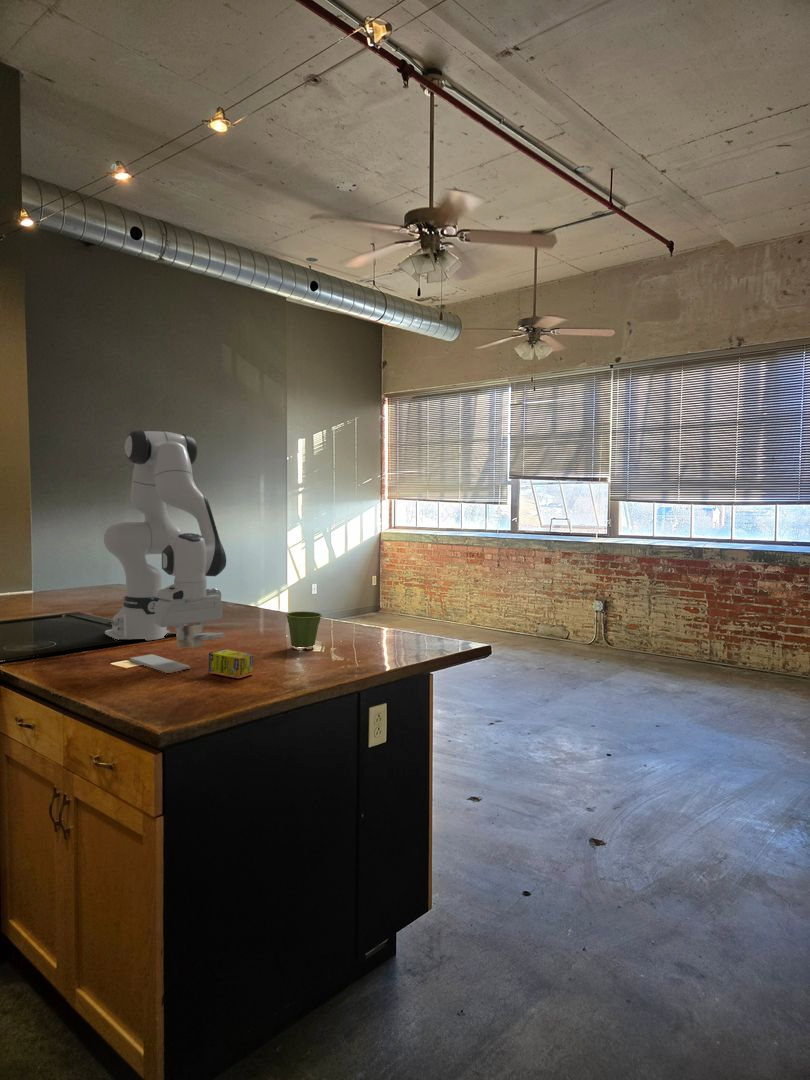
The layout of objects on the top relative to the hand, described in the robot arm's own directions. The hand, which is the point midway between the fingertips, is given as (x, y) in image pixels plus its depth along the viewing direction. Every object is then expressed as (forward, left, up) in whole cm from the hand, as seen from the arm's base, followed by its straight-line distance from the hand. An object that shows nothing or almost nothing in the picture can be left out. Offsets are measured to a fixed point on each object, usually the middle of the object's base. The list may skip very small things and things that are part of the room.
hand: (189, 638), depth 198 cm
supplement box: (+12, +1, -5) cm, 13 cm away
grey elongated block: (+5, 0, -2) cm, 5 cm away
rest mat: (-5, -6, -8) cm, 11 cm away
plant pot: (+6, +38, -8) cm, 39 cm away
